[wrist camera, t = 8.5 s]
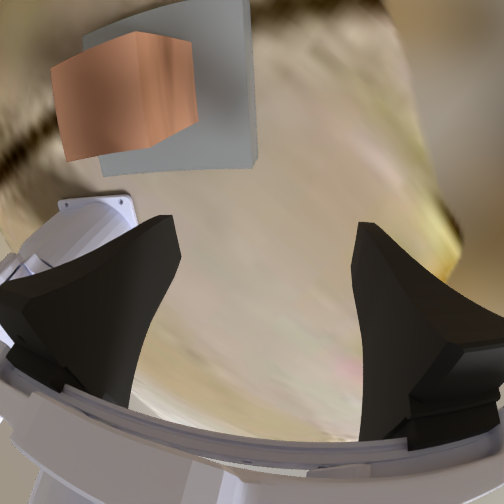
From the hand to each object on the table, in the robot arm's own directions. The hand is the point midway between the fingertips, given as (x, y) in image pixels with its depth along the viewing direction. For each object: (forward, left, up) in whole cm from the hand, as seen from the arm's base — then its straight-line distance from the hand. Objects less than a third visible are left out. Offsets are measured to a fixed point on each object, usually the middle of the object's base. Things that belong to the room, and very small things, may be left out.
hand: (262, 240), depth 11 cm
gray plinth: (-7, +6, -9) cm, 13 cm away
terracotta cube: (-7, +6, -7) cm, 12 cm away
